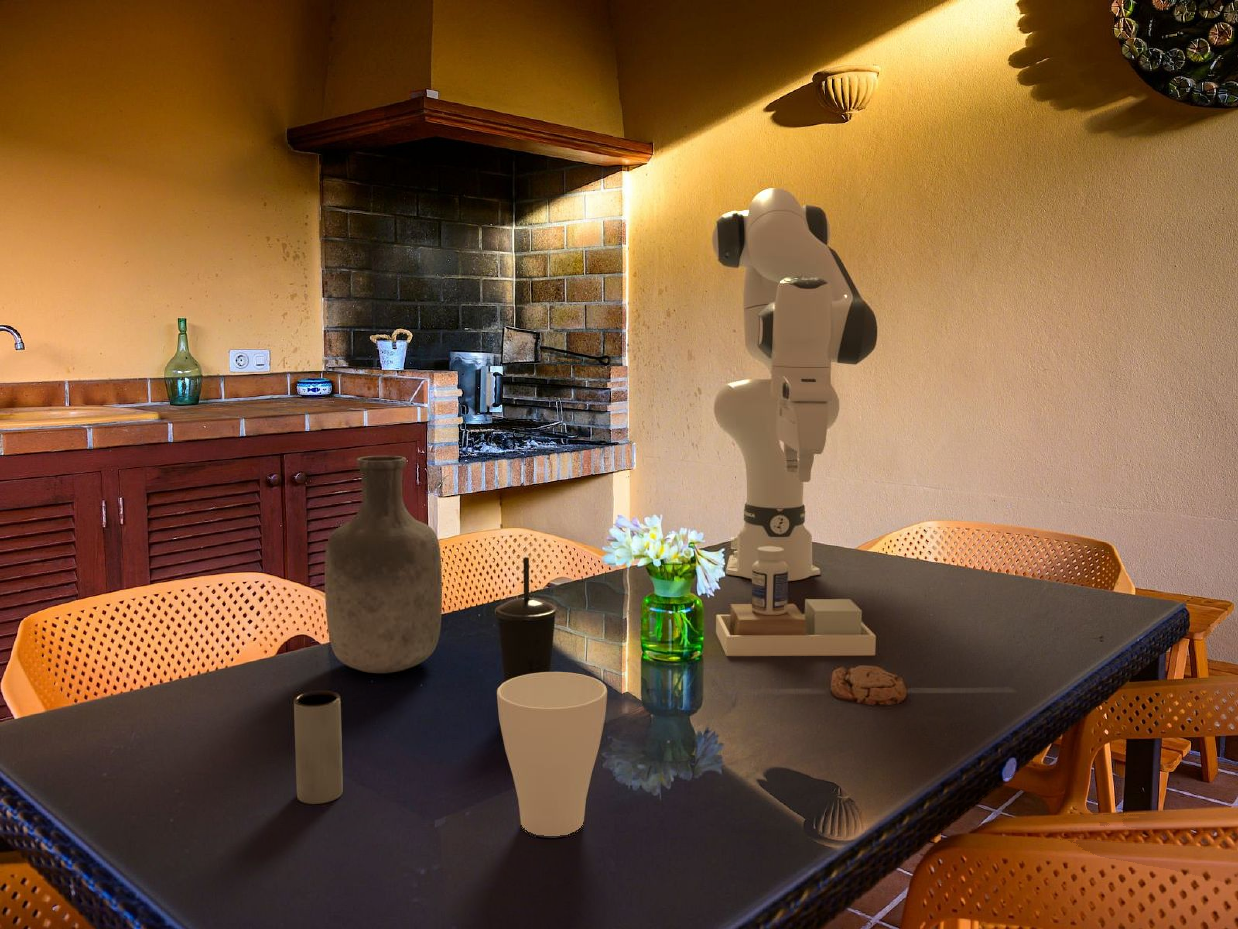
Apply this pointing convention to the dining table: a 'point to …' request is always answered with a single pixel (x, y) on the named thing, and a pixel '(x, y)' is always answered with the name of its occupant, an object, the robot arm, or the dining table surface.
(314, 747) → the planter
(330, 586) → the vase
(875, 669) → the cookie
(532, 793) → the cup
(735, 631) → the walnut block
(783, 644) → the box
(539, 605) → the drinking cup
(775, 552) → the pill bottle
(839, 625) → the pale green block
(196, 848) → the dining table surface
